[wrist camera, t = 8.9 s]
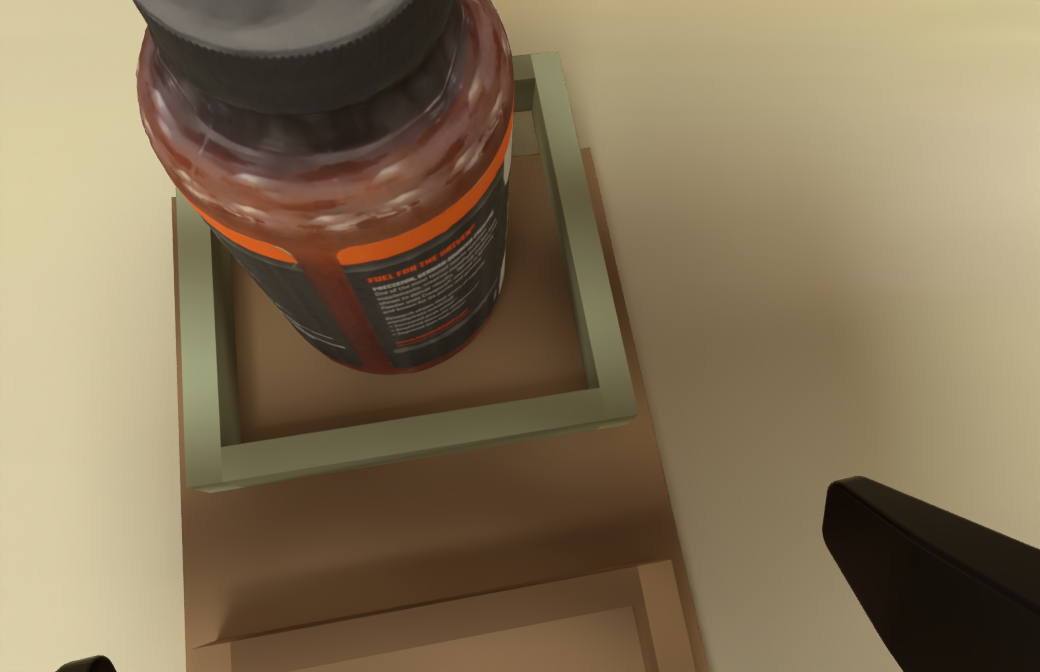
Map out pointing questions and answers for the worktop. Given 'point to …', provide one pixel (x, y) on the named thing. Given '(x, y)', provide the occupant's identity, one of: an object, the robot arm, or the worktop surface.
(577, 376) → the wooden tray
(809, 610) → the worktop surface
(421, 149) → the supplement bottle
